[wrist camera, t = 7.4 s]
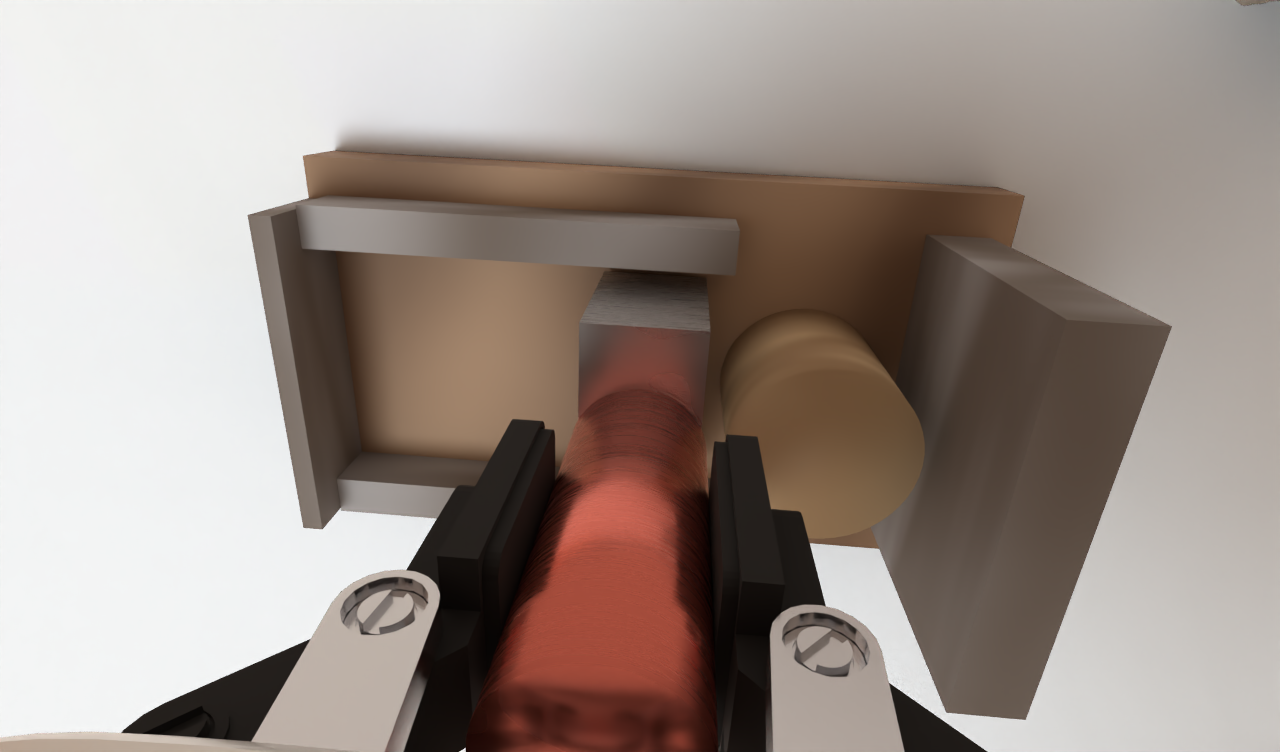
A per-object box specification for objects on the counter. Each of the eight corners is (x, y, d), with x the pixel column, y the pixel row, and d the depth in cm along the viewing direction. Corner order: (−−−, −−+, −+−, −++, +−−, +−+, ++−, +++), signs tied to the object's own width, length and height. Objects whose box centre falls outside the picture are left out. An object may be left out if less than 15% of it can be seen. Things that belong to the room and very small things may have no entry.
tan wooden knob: (889, 313, 17) (944, 376, 13) (861, 454, 18) (903, 546, 15) (727, 303, 17) (737, 361, 13) (713, 443, 19) (718, 530, 15)
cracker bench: (997, 187, 17) (1234, 261, 9) (915, 522, 21) (1037, 758, 13) (333, 150, 18) (76, 192, 10) (374, 479, 22) (210, 680, 14)
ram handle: (712, 278, 16) (744, 576, 6) (695, 469, 19) (699, 925, 8) (598, 271, 17) (450, 551, 6) (594, 462, 19) (477, 899, 9)
